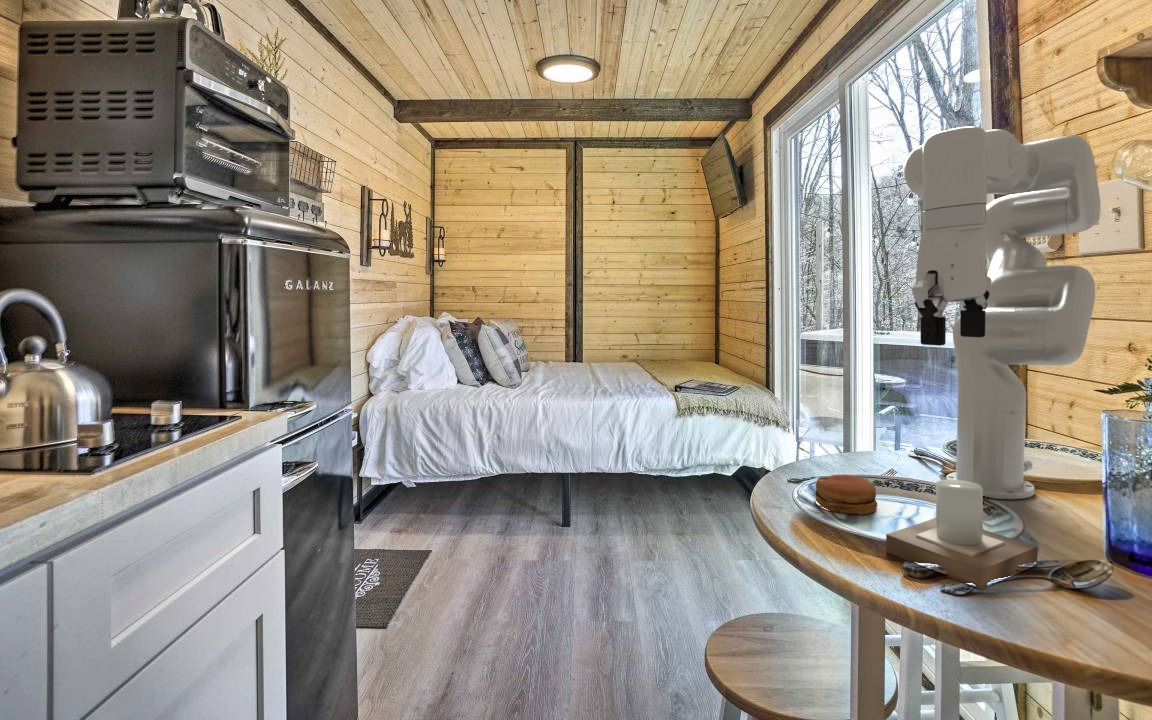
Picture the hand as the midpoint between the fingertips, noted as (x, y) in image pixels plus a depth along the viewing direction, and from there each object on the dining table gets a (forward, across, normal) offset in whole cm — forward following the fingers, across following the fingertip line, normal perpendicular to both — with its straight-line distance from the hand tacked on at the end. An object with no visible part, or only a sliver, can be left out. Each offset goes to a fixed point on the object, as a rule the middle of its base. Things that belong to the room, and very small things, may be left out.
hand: (953, 340), depth 83 cm
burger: (+28, +7, -13) cm, 32 cm away
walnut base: (+27, +12, +8) cm, 30 cm away
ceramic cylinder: (+24, +12, +7) cm, 28 cm away
